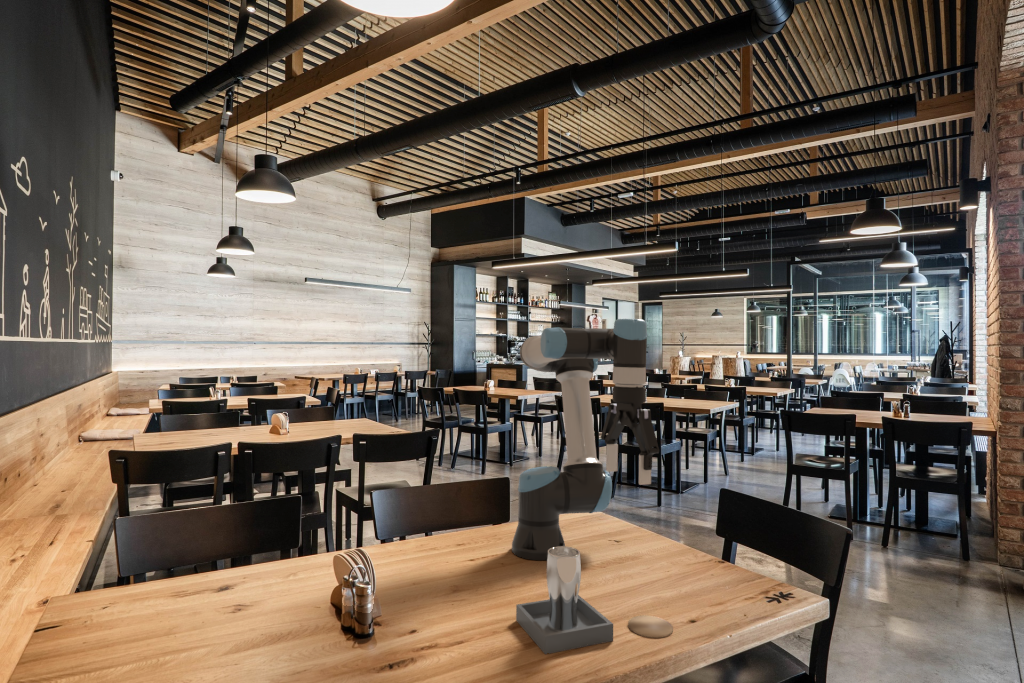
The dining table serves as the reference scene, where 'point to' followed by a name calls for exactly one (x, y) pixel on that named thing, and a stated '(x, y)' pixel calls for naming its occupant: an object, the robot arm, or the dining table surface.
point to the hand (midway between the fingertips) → (627, 477)
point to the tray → (588, 632)
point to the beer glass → (563, 587)
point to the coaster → (650, 626)
